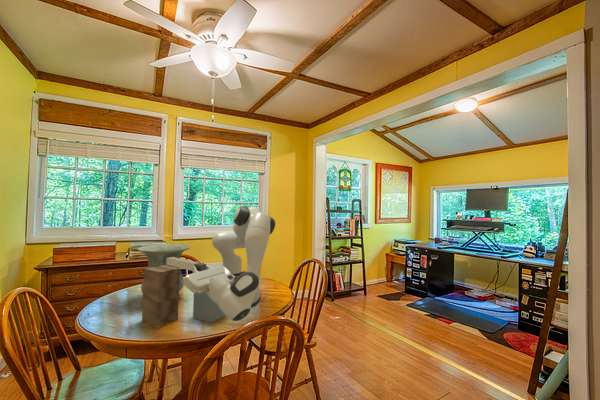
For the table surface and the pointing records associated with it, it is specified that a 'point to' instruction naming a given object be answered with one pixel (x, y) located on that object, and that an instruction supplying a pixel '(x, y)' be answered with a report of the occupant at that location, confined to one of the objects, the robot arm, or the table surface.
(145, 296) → the walnut pillar
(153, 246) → the vessel
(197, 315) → the slate block
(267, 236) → the robot arm
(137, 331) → the table surface
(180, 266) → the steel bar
